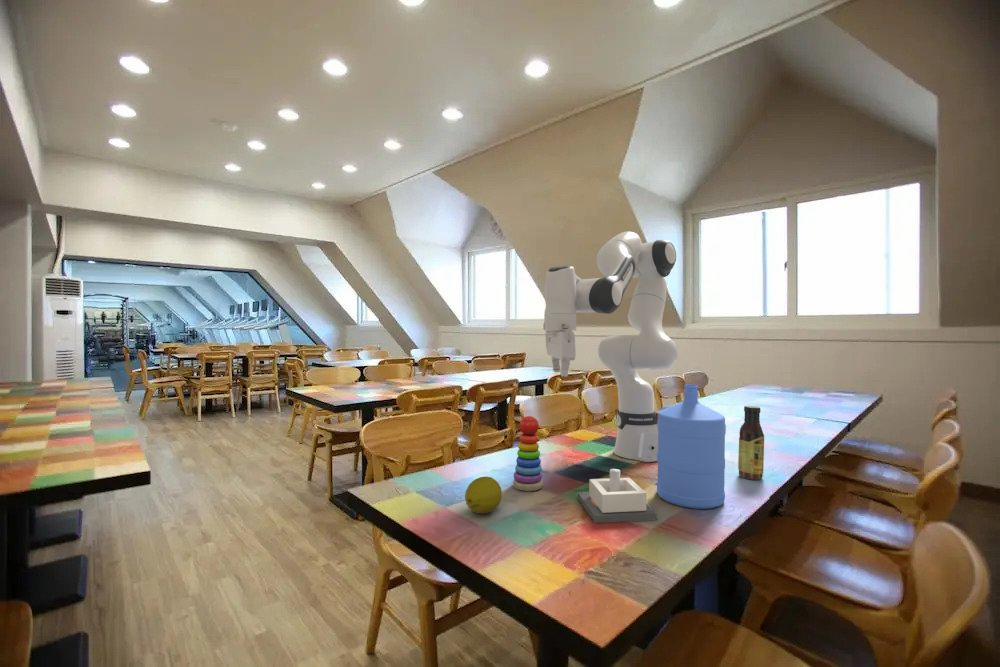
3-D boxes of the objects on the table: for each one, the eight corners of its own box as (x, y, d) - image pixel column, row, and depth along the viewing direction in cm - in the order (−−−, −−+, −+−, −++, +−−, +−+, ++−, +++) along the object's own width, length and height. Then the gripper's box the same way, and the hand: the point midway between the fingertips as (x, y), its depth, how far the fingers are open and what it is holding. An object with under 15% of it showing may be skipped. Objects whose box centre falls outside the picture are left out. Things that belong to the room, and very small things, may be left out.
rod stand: (632, 495, 117) (632, 460, 117) (656, 519, 103) (656, 479, 103) (577, 498, 116) (577, 462, 115) (594, 522, 102) (594, 482, 101)
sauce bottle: (758, 482, 126) (759, 409, 126) (734, 476, 131) (735, 406, 130) (767, 477, 130) (768, 406, 130) (743, 471, 135) (744, 403, 135)
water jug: (712, 516, 105) (713, 392, 104) (646, 498, 115) (647, 385, 115) (733, 496, 116) (735, 385, 115) (671, 481, 127) (672, 379, 126)
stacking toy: (541, 493, 119) (541, 420, 118) (510, 491, 120) (510, 419, 120) (544, 482, 126) (544, 414, 126) (515, 480, 128) (515, 413, 127)
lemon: (486, 501, 114) (485, 468, 114) (510, 509, 109) (510, 475, 108) (453, 515, 106) (453, 480, 105) (478, 525, 100) (478, 488, 100)
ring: (629, 493, 114) (629, 477, 113) (646, 510, 104) (646, 492, 103) (589, 495, 112) (589, 479, 112) (602, 512, 103) (602, 494, 102)
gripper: (581, 324, 119) (581, 378, 119) (563, 323, 139) (562, 370, 140) (557, 324, 118) (557, 379, 119) (542, 324, 139) (542, 370, 139)
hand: (560, 374), depth 129 cm, fingers open, 8 cm apart
